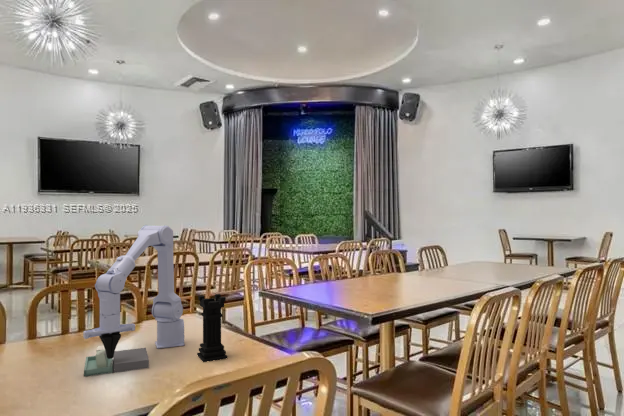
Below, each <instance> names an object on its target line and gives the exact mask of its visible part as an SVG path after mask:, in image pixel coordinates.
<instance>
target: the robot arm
mask: <svg viewBox="0 0 624 416" xmlns="http://www.w3.org/2000/svg"><path fill="white" fill-rule="evenodd" d="M148 247H153V248H154V249H155V250H156V251H157V283H158V287H157V289H158V294H157V295H156V296H155V297H153V302H152V308H151V315H152V317H153V318H154V320H155V321H156V341H154V344H155V347H156V349H167V348H173V347H181V346H182V347H183V346H185V321H184V318H181V317H182V315H183V312H184V307H183V304H182V297H180V296H179V295H178V294H177V293H175V276H174V275H175V274H174V273H175V272H174V271H175V270H174V269H175V267H174V266H175V265H174V230H173V229H172V228H171V227H170V226H169V225H167V224H165V225H148V224H145V225H143V226H142V227H141V228H140V229H139V230H138V231H137V238H136V239H135V240H134V242H133V243H132V245H131V247H130V248H129V249H128V251H127V252H126V253H125V255H123V254H122V255H120V256H118V257H116V260H115V262H114V263H113V264H112V265H111V267H109V268H108V270H107V271H106V273H102V274H100V276H98V277H97V279H96V281H95V283H94V288H95V290H96V292H97V297H98V299H99V327H95V328H92V329H88V330H84V331H83V336H82V337H83V338H84V340H87V339H89V338H95V337H96V338H97V337H99V339H100V341H101V343H102V346H104V348H105V351H106V355H107V358H108V359H111V358H112V359H113V356H114V352H115V351H116V349H117V346H118V344H119V341H120V339H121V338H122V333H123V332H124V333H125V332H133V331H136V324H135V323H133V322H132V323H122V324H121V292H122V291H123V290H124V288H125V283H126V281H127V277H128V276H129V275H130V274H131V272H132V271H133V270H134V269H135V267H136V262H135V261H136V260H138V258H139V257H141V255H142V254H143V253H144V252H145V250H147V249H148Z"/></svg>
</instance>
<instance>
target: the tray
mask: <svg viewBox="0 0 624 416" xmlns="http://www.w3.org/2000/svg"><path fill="white" fill-rule="evenodd" d="M107 359H108V358H107ZM84 361H85V362H84V369H83V377H90V376H91V377H92V376H99V375H105V374H114V365H113V358H111V359H108V366H107V367H102V368H98V367H97V365H96V356H95V355H92V356H89V355H88V356H86V357H85V360H84Z"/></svg>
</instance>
